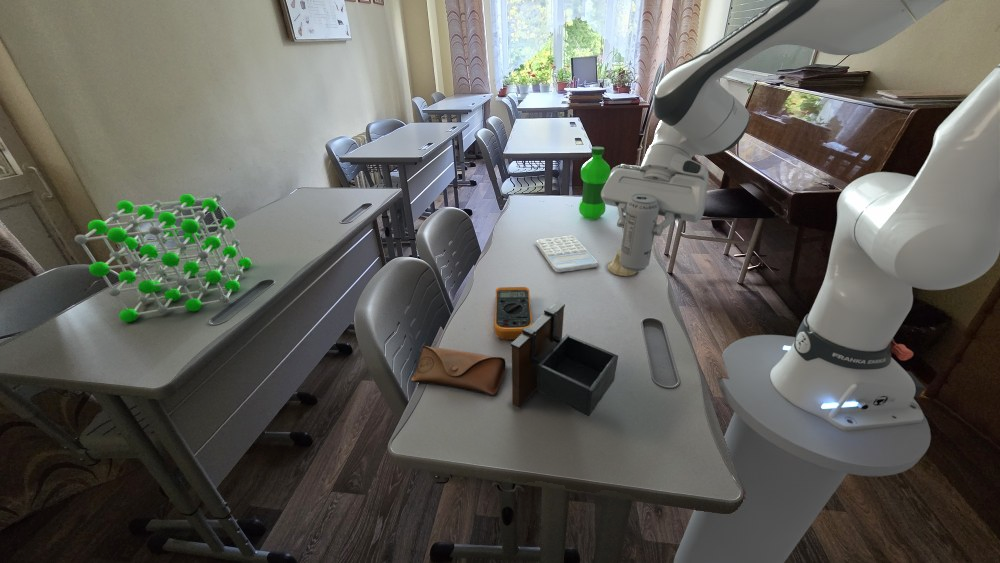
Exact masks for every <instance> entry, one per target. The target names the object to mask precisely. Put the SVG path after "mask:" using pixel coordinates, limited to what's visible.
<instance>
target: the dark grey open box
mask: <svg viewBox="0 0 1000 563" xmlns="http://www.w3.org/2000/svg"><path fill="white" fill-rule="evenodd" d="M544 313H547V314H549V315H552V316H553V317H552V331H551V342H557V343H558V344H557V345H556V346H555V347H554V348H553V349H552V350H551V351H550V352H549V353H548V355H547V356H546V357H545V358H544V359H543V360H542V359H540V358H538V357H535V347H536V334H535V331H533V330H531V329H529V328H527V327H525V328H524V329H523V330H522V332H523V333H526V334H528V335H530V336H531V359H530V363H533V362H534V363H536V364H538V366H537V389H536V391H539V392H540V393H542V394H544V395H545V396H548V397H550V398H552V399H553V400H555V401H557V402H559V403H561V404H563V405H564V406H567V407H569V408H571V409H572V410H574V411H576V412H578V413H580V414H581V415H584V416H586V417H588V418H589V417H590V416H591V414H593V412H594V410H595V409H596V407H597V406H598V405H599V403H600V402H601V400H602V399H603V397H604V396H605V394H606V393H607V391H608V390H609V389H610V387H611V386H612V384H613V383H614V382H615V378H616V371H617V366H618V361H619V360H618V359H619V355H617V354H615V353H613V352H611V351H608V350H606V349H604V348H601V347H599V346H596V345H594V344H592V343H589V342H587V341H584V340H582V339H579V338H577V337H576V336H575V337H574V336H572V335H570V334H567V333H566V334H565V335H564V337H562V338H559V337H557V336H556V318H557V314H556V311H554V310H551V309H550V307H549V308H548V307H546V308H545V309H544V310H543V314H544Z"/></svg>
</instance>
